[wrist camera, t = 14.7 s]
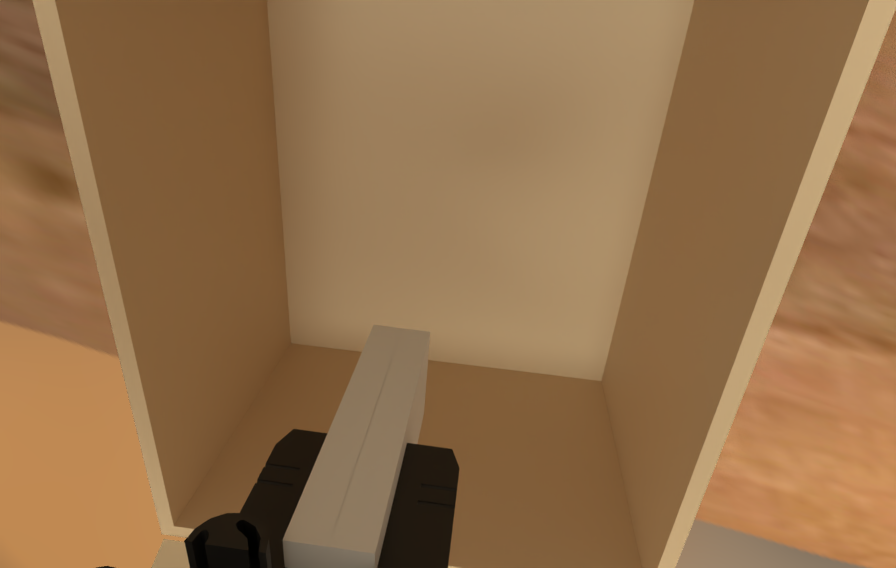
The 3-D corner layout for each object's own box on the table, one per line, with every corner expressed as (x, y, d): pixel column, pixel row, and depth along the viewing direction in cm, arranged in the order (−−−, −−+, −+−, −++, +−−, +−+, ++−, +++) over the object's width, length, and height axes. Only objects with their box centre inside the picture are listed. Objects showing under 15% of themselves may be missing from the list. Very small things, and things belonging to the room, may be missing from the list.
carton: (250, -121, 24) (-25, -237, 12) (727, -89, 23) (969, -179, 11) (285, 344, 35) (161, 534, 23) (608, 384, 34) (659, 606, 22)
